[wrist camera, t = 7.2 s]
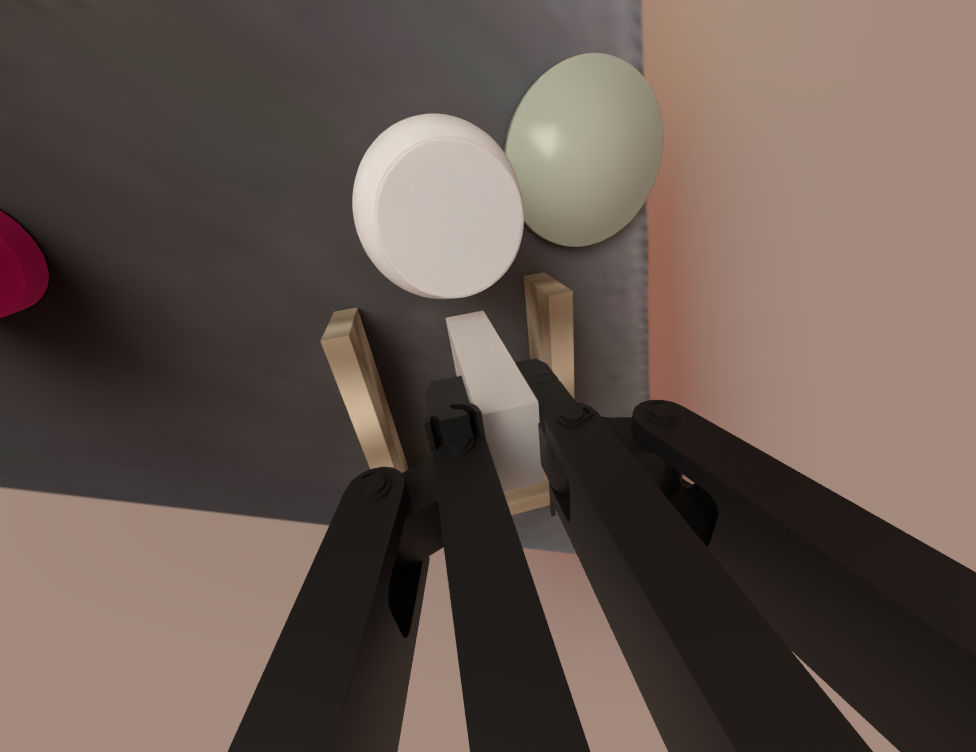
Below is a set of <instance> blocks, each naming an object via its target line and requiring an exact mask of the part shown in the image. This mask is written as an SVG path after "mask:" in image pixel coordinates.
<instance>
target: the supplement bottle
mask: <svg viewBox="0 0 976 752" xmlns="http://www.w3.org/2000/svg"><path fill="white" fill-rule="evenodd" d="M352 207H353V216H354V222H355V226H356V230H357V233H358V236H359V239H360V241H361V244H362V246H363V248H364V249H365V251H366V253H367V255H368V256H369V258H370V259H371V261H372V262H373V263H374V265H375V266H376V267H377V269H378V270H379V271H380V272H381V273H382V274H383V275H384V276H385V277H387V278H388V279H389V280H390V281H392V282H393V283H394V284H396V285H397V286H399V287H401V288H402V289H404V290H406V291H408V292H410V293H413V294H416V295H419V296H422V297H427V298H434V299H450V298H463V297H468V296H471V295H474V294H477V293H479V292H481V291H483V290H485V289H487V288H488V287H490V286H491V285H493V284H494V283H495V282H497V281H498V280H499V279H500V278H501V277H502V276H503V275H504V274H505V272H506V271H507V270H508V269H509V267H510V266H511V264H512V263H513V261H514V259H515V257H516V255H517V252H518V250H519V246H520V243H521V240H522V235H523V227H524V213H523V204H522V195H521V190H520V186H519V182H518V179H517V176H516V173H515V171H514V169H513V167H512V165H511V163H510V161H509V159H508V157H507V156H506V154H505V153H504V151H503V150H502V149H501V148H500V146H499V145H498V144H497V143H496V142H495V141H494V140H493V139H492V138H491V137H490V136H489V135H488V134H487V133H485V132H484V131H483V130H481V129H480V128H479V127H477V126H475V125H473V124H472V123H470V122H468V121H465V120H463V119H460V118H457V117H454V116H451V115H445V114H423V115H417V116H413V117H409V118H407V119H404V120H402V121H400V122H398V123H396V124H394V125H392V126H391V127H389V128H388V129H387V130H385V131H384V132H383V133H382V134H380V135H379V136H378V137H377V138H376V140H375V141H374V142H373V143H372V144H371V146H370V147H369V148H368V150H367V152H366V153H365V155H364V157H363V159H362V161H361V163H360V165H359V168H358V171H357V175H356V178H355V183H354V188H353V199H352Z"/></svg>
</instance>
